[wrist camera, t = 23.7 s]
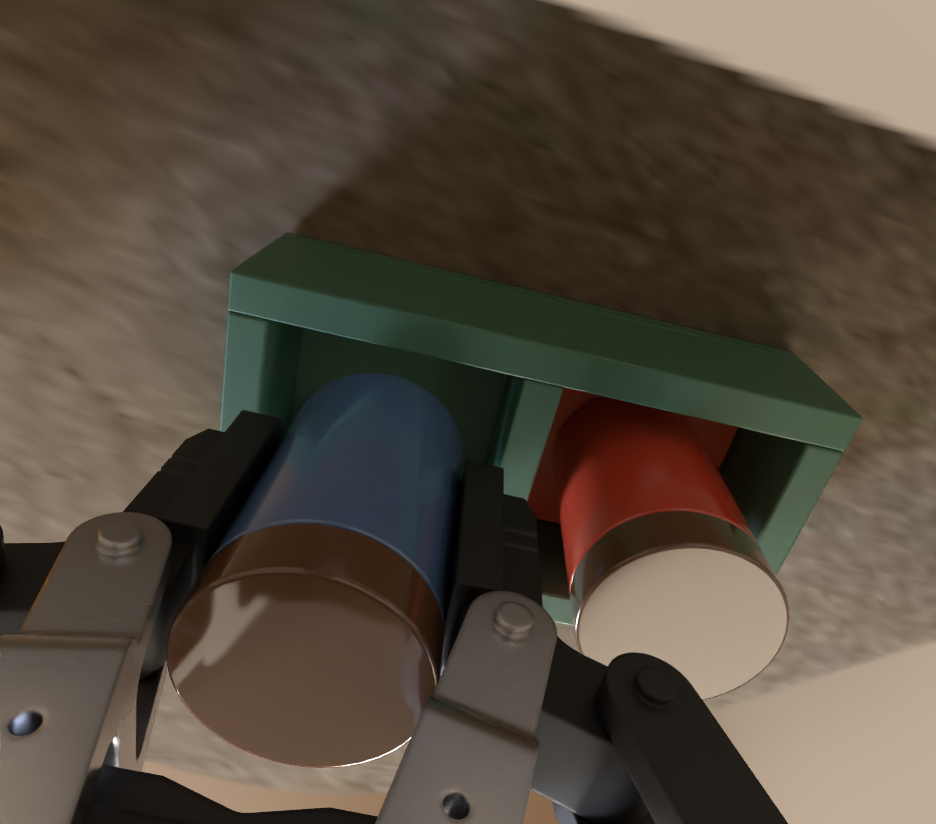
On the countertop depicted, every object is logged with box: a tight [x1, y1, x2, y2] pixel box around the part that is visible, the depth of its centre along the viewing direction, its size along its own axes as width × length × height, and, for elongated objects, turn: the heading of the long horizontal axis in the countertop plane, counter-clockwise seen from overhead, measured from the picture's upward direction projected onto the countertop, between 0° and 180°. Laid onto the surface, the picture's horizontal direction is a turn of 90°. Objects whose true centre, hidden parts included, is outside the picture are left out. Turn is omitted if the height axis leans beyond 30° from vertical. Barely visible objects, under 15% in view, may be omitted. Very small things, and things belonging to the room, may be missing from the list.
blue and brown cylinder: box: [166, 373, 463, 768], centre depth 12 cm, size 4×4×6 cm
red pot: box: [553, 396, 789, 700], centre depth 14 cm, size 4×4×6 cm
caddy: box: [220, 233, 862, 625], centre depth 16 cm, size 7×12×4 cm, turn 77°
